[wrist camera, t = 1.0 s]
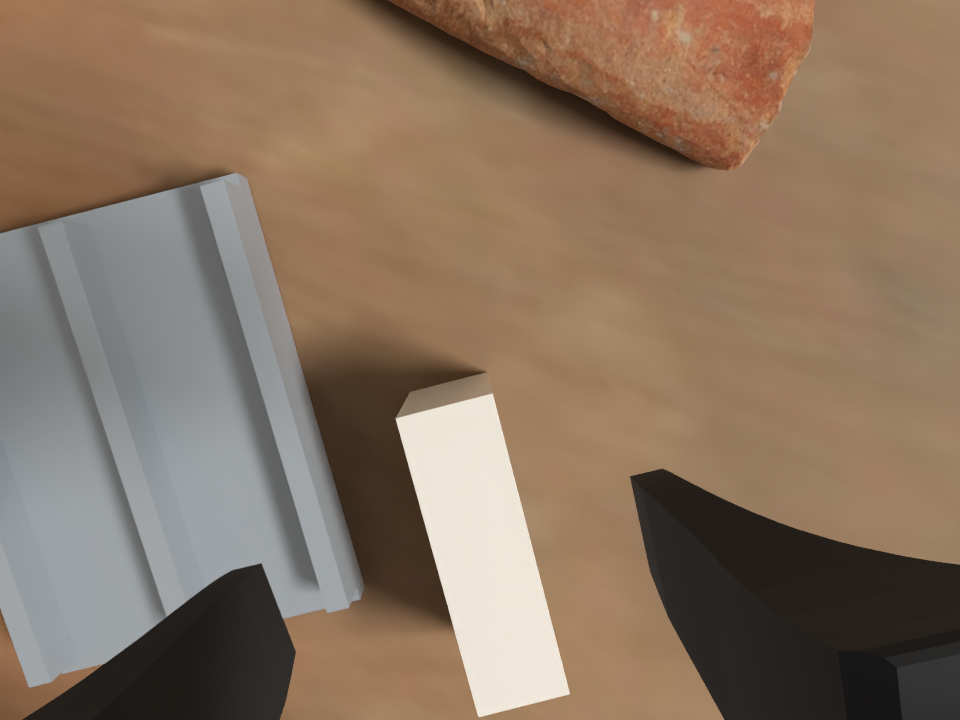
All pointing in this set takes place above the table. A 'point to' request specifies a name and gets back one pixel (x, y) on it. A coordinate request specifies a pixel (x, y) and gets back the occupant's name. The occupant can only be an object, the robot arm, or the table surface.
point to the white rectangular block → (481, 544)
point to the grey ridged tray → (153, 427)
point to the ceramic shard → (650, 60)
